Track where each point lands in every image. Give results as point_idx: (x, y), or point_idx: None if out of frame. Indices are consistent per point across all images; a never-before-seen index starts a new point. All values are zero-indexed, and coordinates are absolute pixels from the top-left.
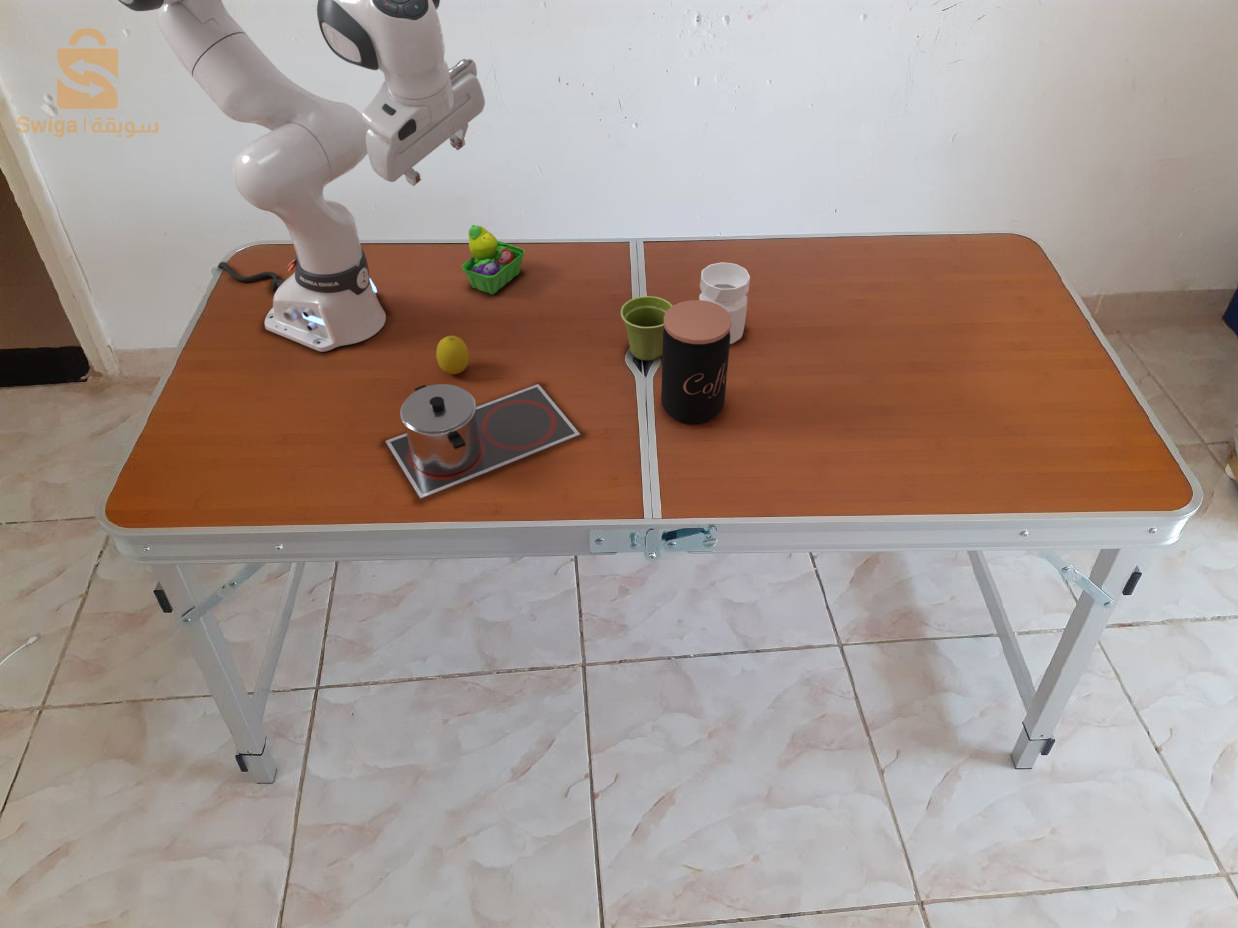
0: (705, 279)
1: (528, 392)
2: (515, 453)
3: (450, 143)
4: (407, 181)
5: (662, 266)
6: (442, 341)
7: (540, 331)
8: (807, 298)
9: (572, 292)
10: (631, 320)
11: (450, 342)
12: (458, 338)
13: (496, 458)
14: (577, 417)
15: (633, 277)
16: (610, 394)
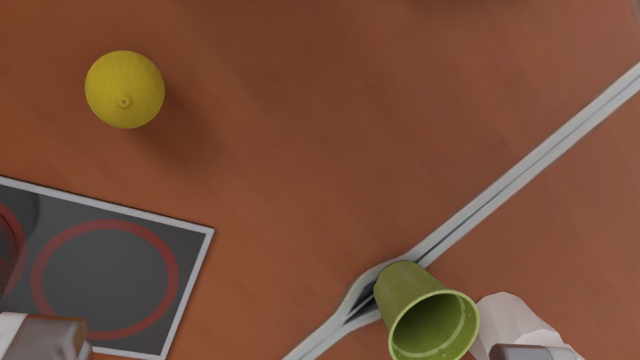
0: (552, 345)
1: (185, 232)
2: None
3: (505, 353)
4: (6, 313)
5: (608, 147)
6: (107, 88)
7: (343, 113)
8: (607, 348)
9: (476, 73)
10: (423, 280)
11: (116, 110)
12: (146, 107)
13: None
14: (196, 325)
15: (562, 130)
16: (276, 319)
